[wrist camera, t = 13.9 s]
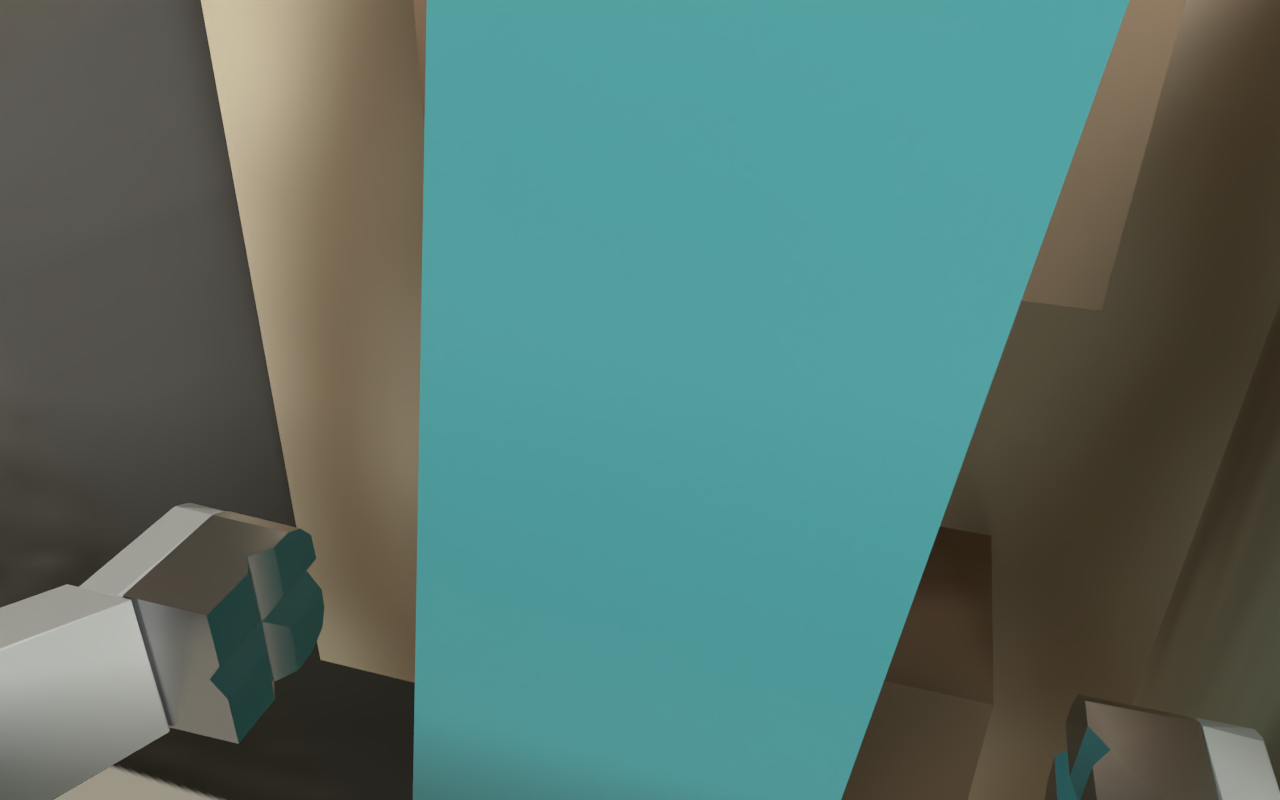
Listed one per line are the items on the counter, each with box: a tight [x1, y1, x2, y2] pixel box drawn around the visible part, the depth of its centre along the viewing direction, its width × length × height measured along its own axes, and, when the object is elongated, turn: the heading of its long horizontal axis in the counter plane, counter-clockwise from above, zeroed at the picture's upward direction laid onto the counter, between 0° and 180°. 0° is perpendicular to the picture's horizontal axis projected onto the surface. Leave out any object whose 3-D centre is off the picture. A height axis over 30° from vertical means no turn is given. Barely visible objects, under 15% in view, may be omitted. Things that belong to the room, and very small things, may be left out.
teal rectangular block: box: [413, 0, 1130, 800], centre depth 12 cm, size 4×16×5 cm, turn 172°
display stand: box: [201, 0, 1280, 800], centre depth 14 cm, size 20×20×12 cm
